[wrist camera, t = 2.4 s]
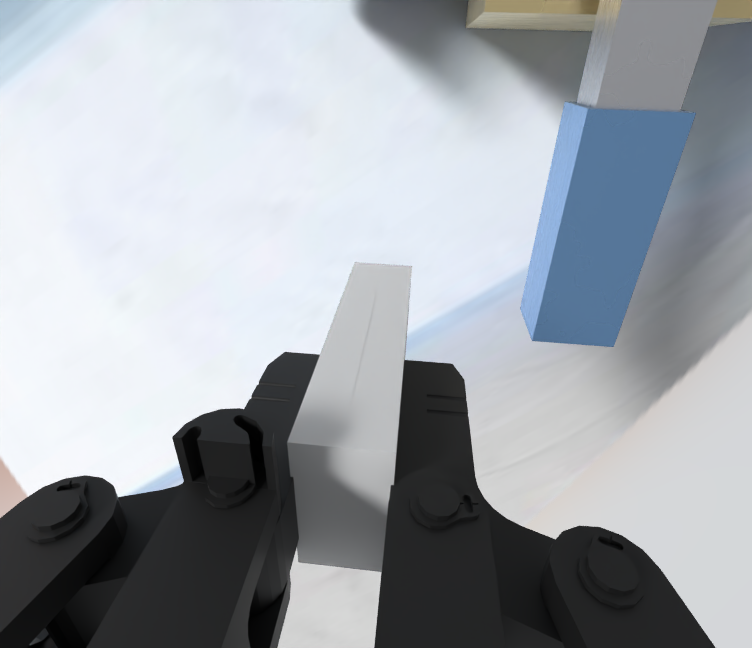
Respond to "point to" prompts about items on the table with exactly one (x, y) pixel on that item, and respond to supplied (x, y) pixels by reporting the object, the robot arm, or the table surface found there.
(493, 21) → the valve
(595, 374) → the table surface
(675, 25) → the lever
